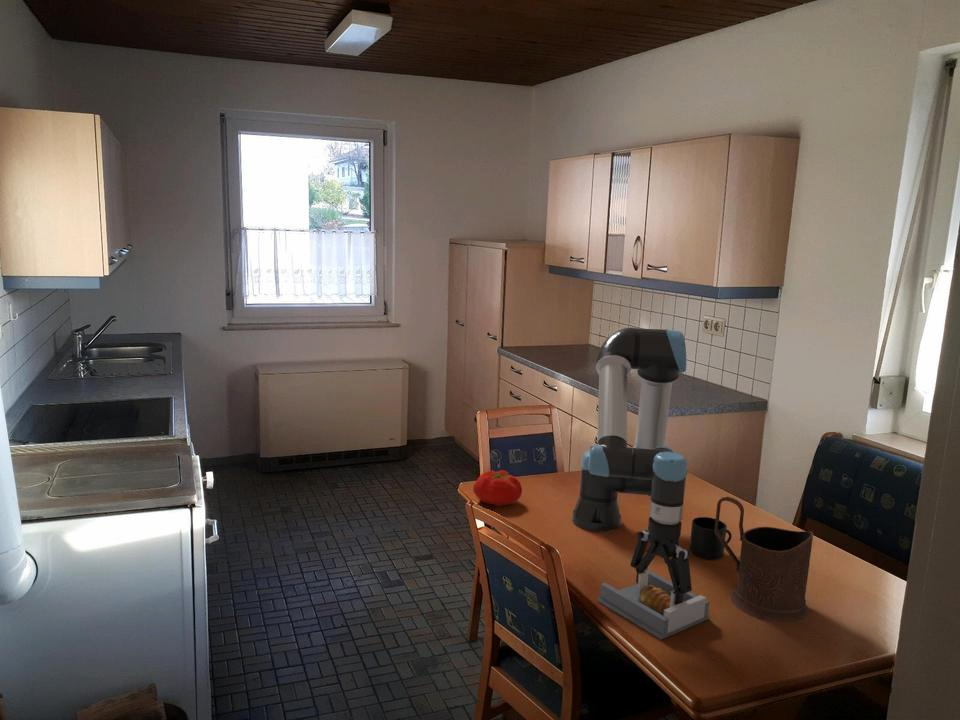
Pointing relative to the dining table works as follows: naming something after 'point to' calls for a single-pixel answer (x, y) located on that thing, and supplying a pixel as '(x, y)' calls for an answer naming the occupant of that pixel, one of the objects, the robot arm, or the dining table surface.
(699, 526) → the mug
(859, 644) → the dining table surface
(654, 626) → the tray
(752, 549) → the brown pitcher
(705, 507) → the dining table surface
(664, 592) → the pastry
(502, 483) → the tomato
